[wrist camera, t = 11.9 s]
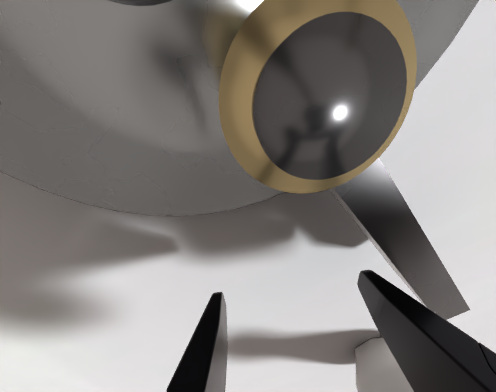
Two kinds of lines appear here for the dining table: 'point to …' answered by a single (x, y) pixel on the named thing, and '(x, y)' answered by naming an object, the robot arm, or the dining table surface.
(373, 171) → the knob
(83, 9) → the levelling base
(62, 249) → the dining table surface
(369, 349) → the salt shaker
